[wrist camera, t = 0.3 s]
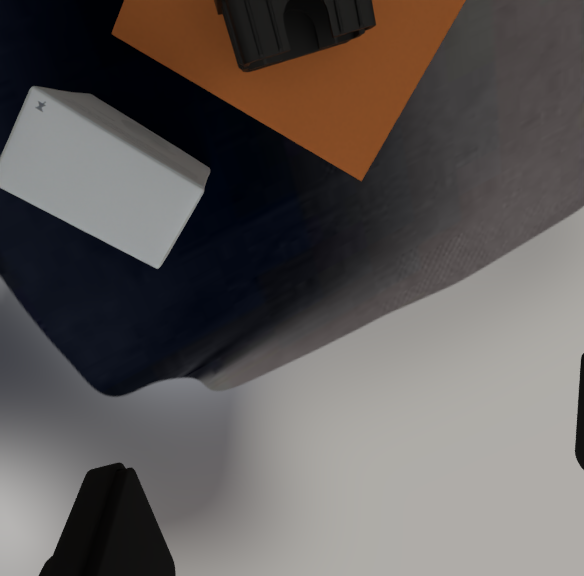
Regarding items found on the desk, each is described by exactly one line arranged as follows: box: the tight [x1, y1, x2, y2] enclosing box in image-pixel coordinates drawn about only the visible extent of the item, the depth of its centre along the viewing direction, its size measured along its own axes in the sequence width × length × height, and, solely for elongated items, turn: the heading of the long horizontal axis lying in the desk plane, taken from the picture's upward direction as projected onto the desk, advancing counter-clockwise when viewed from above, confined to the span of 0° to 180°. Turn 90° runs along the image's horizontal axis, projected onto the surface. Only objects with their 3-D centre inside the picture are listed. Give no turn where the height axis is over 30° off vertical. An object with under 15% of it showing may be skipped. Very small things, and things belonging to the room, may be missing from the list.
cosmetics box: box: [0, 86, 210, 269], centre depth 30 cm, size 10×6×10 cm, turn 57°
